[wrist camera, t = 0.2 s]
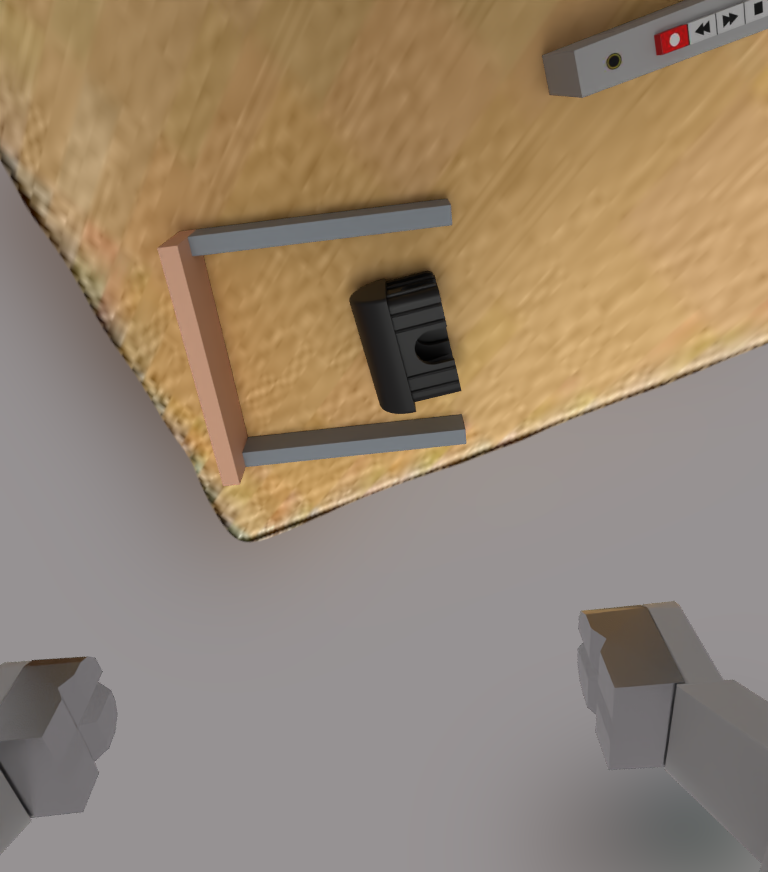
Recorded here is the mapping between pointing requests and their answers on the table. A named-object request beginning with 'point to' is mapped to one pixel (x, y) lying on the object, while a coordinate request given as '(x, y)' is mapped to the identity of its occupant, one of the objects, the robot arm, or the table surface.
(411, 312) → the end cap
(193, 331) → the u-shaped frame
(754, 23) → the cassette player
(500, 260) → the table surface
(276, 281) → the table surface
